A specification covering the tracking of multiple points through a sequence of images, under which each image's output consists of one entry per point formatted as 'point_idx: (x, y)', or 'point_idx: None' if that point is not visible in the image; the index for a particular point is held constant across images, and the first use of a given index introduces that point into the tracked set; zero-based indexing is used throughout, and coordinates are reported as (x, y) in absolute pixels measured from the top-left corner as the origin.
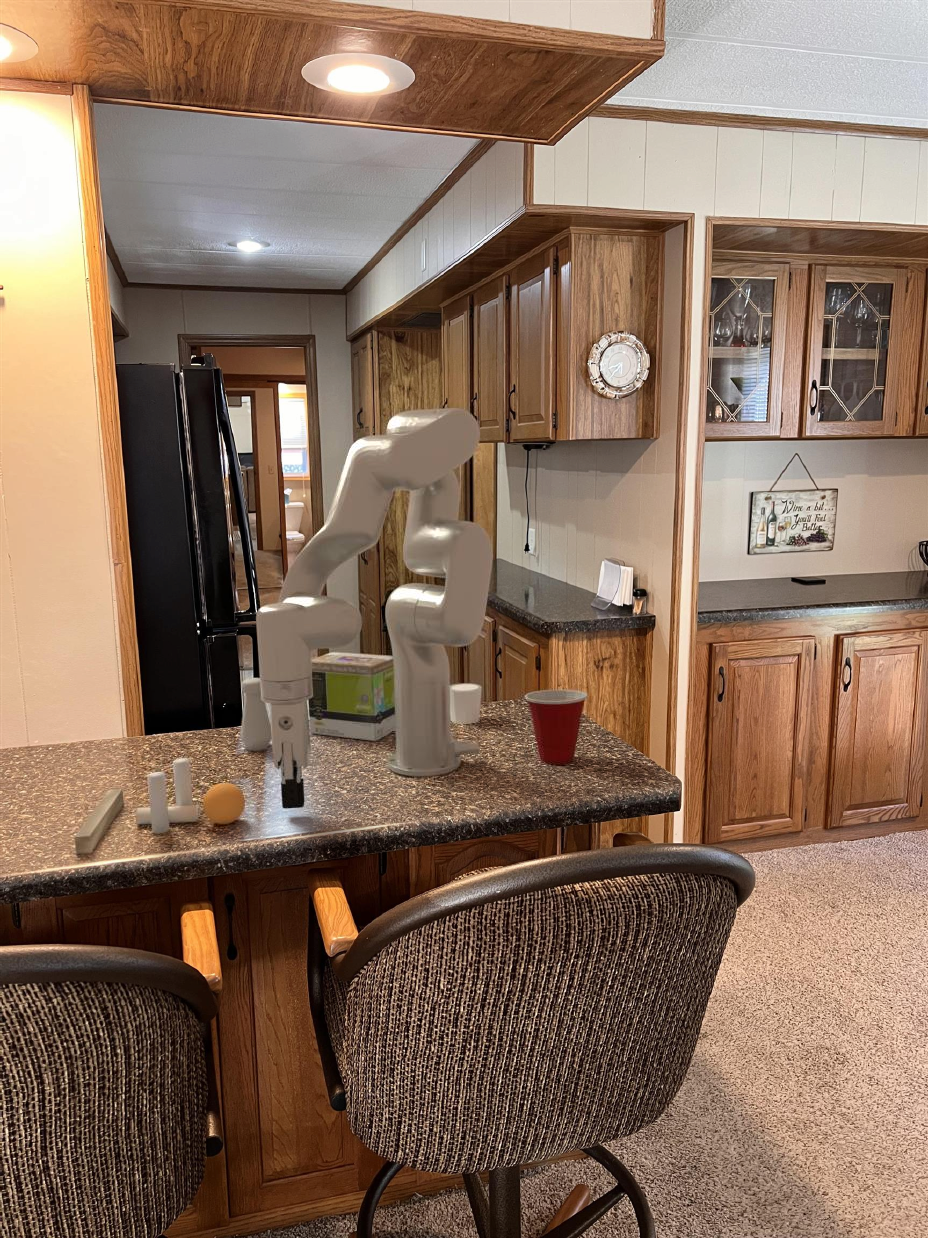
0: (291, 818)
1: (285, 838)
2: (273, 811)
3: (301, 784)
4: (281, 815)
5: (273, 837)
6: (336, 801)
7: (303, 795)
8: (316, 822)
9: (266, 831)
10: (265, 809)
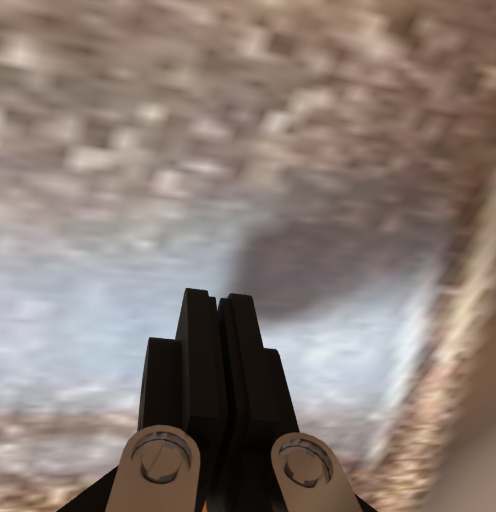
0: None
1: (447, 346)
2: (114, 379)
3: (272, 412)
4: None
5: (410, 383)
6: (28, 24)
7: (253, 338)
8: (346, 209)
9: (336, 403)
10: (77, 407)
